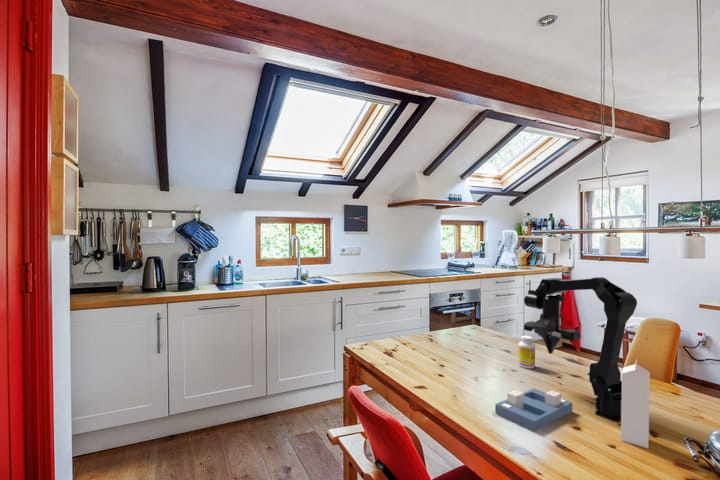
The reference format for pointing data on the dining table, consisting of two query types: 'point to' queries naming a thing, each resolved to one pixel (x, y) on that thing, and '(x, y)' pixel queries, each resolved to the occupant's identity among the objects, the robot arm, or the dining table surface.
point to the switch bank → (533, 410)
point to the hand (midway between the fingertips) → (550, 353)
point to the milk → (635, 405)
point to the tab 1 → (515, 399)
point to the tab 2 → (553, 398)
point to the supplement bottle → (526, 352)
